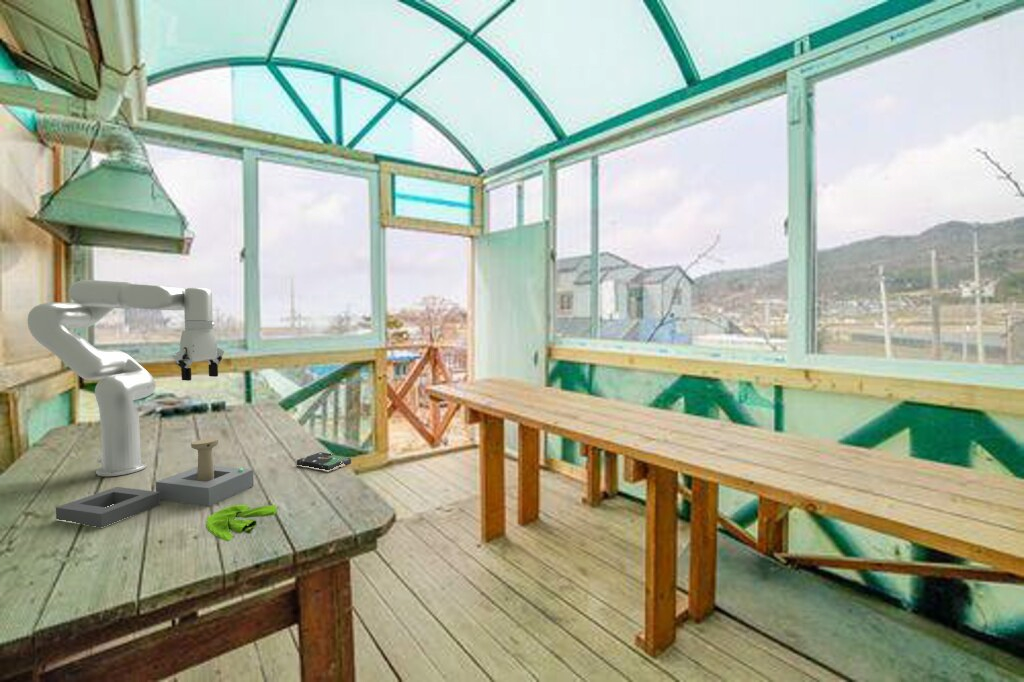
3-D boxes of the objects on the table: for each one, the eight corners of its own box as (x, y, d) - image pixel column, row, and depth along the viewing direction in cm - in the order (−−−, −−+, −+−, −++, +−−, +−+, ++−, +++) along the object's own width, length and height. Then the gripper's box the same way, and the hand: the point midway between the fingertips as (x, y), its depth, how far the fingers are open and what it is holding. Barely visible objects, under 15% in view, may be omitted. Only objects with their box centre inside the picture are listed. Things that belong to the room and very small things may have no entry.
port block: (156, 499, 126) (155, 478, 126) (204, 480, 140) (204, 462, 140) (209, 506, 122) (208, 485, 121) (253, 486, 136) (253, 467, 136)
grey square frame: (56, 521, 112) (55, 507, 112) (117, 499, 126) (117, 486, 126) (102, 528, 109) (101, 514, 109) (160, 504, 122) (159, 492, 122)
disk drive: (296, 468, 154) (329, 473, 148) (295, 460, 154) (328, 465, 148) (320, 459, 164) (352, 464, 158) (319, 451, 164) (351, 456, 158)
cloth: (228, 505, 124) (228, 496, 124) (307, 506, 123) (307, 498, 123) (170, 542, 104) (169, 532, 103) (264, 544, 103) (264, 534, 103)
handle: (222, 491, 132) (220, 440, 131) (196, 498, 127) (195, 445, 126) (215, 487, 135) (213, 437, 134) (190, 494, 130) (188, 442, 129)
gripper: (213, 325, 158) (214, 374, 159) (163, 326, 141) (165, 381, 142) (230, 325, 156) (232, 375, 157) (183, 326, 139) (184, 382, 140)
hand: (200, 378), depth 149 cm, fingers open, 9 cm apart
